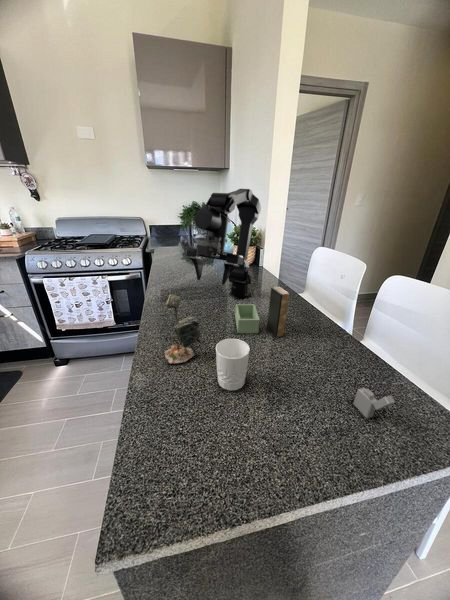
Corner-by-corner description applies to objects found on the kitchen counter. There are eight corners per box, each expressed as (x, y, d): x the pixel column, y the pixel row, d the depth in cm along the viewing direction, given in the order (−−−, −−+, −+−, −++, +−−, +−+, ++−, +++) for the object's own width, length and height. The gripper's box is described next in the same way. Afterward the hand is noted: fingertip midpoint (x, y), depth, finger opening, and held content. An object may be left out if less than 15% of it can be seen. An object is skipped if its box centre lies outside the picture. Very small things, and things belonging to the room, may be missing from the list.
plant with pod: (205, 361, 69) (204, 295, 60) (163, 366, 67) (156, 298, 58) (201, 344, 76) (199, 283, 68) (163, 348, 74) (156, 285, 65)
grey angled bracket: (352, 403, 57) (361, 376, 53) (359, 401, 57) (368, 374, 54) (377, 430, 51) (389, 401, 47) (384, 428, 51) (396, 399, 48)
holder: (235, 316, 93) (235, 304, 90) (253, 316, 93) (254, 304, 91) (237, 333, 82) (238, 319, 80) (258, 333, 82) (259, 319, 80)
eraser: (275, 337, 81) (280, 294, 74) (266, 327, 86) (271, 287, 79) (283, 335, 82) (289, 293, 75) (274, 326, 87) (279, 286, 80)
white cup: (250, 374, 65) (253, 342, 60) (242, 396, 58) (244, 362, 54) (221, 367, 67) (222, 335, 63) (210, 387, 60) (210, 354, 56)
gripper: (178, 227, 76) (172, 277, 79) (234, 233, 69) (225, 288, 72) (197, 232, 87) (191, 277, 89) (247, 238, 79) (239, 287, 82)
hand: (210, 282), depth 83 cm, fingers open, 9 cm apart
